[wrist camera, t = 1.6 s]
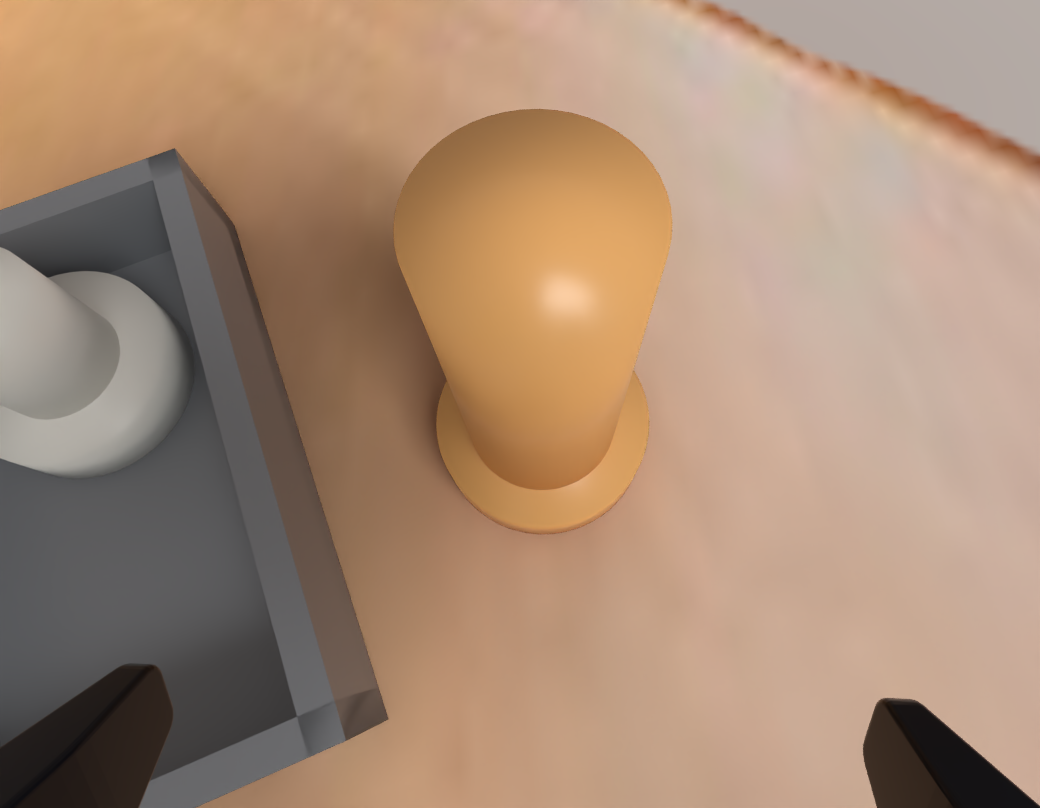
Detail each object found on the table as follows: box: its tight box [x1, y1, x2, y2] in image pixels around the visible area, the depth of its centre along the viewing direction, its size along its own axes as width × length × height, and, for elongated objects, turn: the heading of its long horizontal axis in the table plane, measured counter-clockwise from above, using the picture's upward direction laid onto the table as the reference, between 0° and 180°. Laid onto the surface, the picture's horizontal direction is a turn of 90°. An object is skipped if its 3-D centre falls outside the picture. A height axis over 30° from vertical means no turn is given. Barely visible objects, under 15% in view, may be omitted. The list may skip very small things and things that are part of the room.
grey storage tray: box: [0, 149, 388, 808], centre depth 20 cm, size 20×12×7 cm, turn 22°
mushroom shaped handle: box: [393, 109, 672, 534], centre depth 18 cm, size 7×7×13 cm
